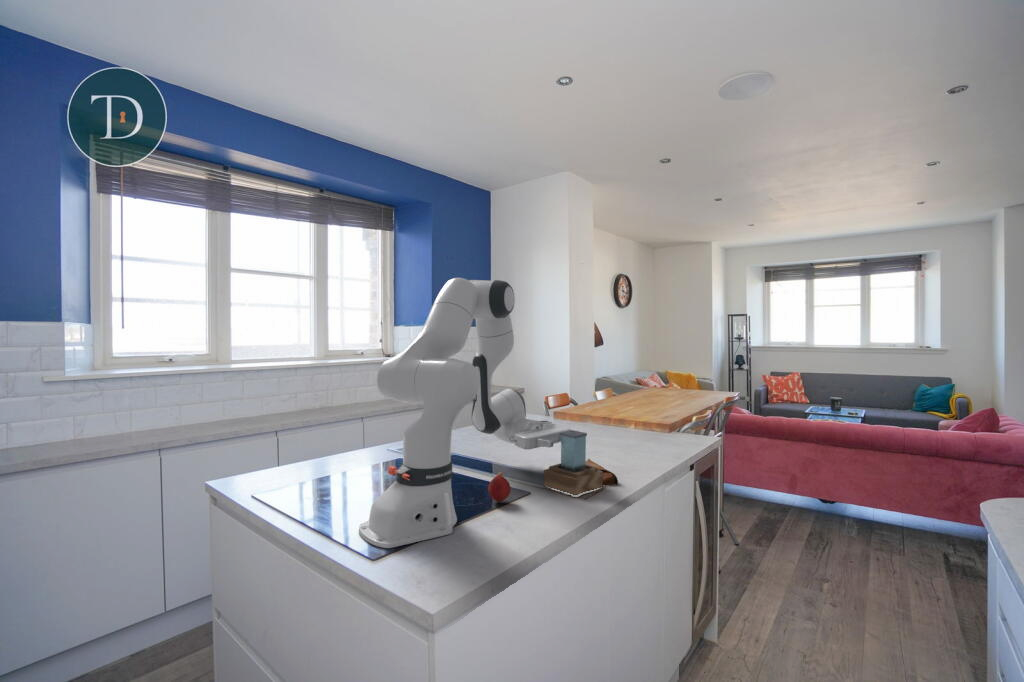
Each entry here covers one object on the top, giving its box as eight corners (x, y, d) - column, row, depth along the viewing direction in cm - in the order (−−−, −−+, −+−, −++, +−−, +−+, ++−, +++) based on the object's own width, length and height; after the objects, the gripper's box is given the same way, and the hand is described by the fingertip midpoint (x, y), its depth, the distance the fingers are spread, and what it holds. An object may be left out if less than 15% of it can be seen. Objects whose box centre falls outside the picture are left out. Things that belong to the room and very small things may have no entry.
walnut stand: (575, 498, 129) (575, 476, 129) (543, 486, 138) (544, 466, 138) (602, 488, 137) (602, 467, 137) (570, 478, 146) (571, 459, 146)
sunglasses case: (566, 469, 155) (576, 451, 156) (583, 478, 157) (592, 460, 158) (593, 487, 138) (603, 467, 139) (611, 497, 140) (621, 477, 141)
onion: (496, 508, 121) (496, 477, 121) (484, 501, 125) (484, 471, 125) (514, 503, 124) (514, 473, 124) (502, 497, 129) (502, 468, 129)
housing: (574, 474, 133) (574, 435, 133) (559, 470, 137) (560, 432, 137) (586, 470, 137) (586, 433, 137) (572, 466, 141) (572, 430, 141)
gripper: (505, 428, 143) (538, 436, 133) (551, 420, 157) (584, 426, 147) (505, 449, 144) (537, 458, 133) (551, 438, 157) (584, 446, 147)
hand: (562, 441), depth 140 cm, fingers open, 8 cm apart
